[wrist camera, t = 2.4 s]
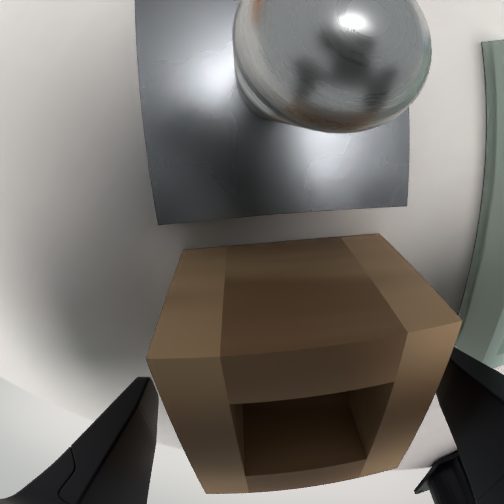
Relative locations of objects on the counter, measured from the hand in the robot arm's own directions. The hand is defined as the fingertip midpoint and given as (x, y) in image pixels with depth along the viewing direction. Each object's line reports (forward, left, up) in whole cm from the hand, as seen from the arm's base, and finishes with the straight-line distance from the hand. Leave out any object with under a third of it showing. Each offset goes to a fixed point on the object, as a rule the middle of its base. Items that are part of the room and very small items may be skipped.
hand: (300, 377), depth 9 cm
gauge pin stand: (+8, 0, -3) cm, 9 cm away
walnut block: (0, 0, -3) cm, 3 cm away
